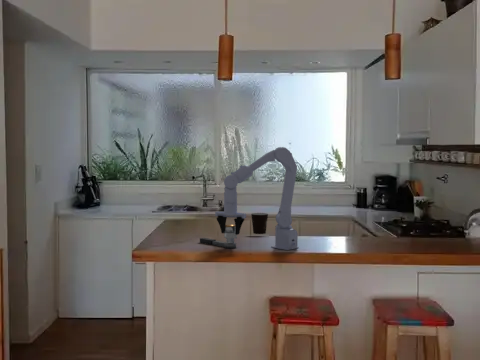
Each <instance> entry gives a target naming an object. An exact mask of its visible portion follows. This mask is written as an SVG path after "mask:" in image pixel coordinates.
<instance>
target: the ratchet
mask: <svg viewBox="0 0 480 360" xmlns="http://www.w3.org/2000/svg"><path fill="white" fill-rule="evenodd" d="M199 243H200V244H204V243H206V245H210V246H211V245H212V246H217V247H221V246H222V247H223V248H224V249H229V250H232V249H237V243H236V242H235V238H234V239H226V241H220V240H217V239H213V238H209V237H199Z"/></svg>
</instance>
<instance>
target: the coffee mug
mask: <svg viewBox="0 0 480 360" xmlns="http://www.w3.org/2000/svg"><path fill="white" fill-rule="evenodd" d="M250 216H251V224H252V225H251V226H252V231H253V232H252V233H253V234H255V235H265V234H266V233H267V228H268V227H267V226H268V218H269V217H268V216H269V213H267V212H266V213H265V212H252V213H251V215H250Z"/></svg>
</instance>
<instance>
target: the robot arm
mask: <svg viewBox="0 0 480 360" xmlns="http://www.w3.org/2000/svg"><path fill="white" fill-rule="evenodd" d="M276 161H277V162H278V163H280V164H281V165H282V166H283V168H284V169H285V173H284V180H283V186H282V193H281V199H280V206H279V209H278V212H277V214H276V215H275V221H276V223H277V224H276V225H275V233H274V234H275V236H274V238H275V239H274V243H275V245H271V246H270V247H271V248H274V249H279V250H285V251H288V250H289V251H290V250H295V249H298V248H299V247H300V246H298V237H299V236H298V231H297V229H294V228H293V226H292V223H293V218H292V204H293V203H292V202H293V198H294V190H295V183H296V179H297V173H298V172H297V170H298V165H297V163H296V161H295V159H294V157H293V154H292V152H291V151H290V150H289V149H288V148H286V147H284V146H279V147H277V148H275V149H273V150H270V151H268V152H267V153H265V154H264V155H262V156H261V157H258V159H256V160H255V161H253V162H252V163H250V164H249V165H247V164H244V165H240V166H239V168H237V169H236V170H235V171H231V172H230V175H226V176H225V178H224V180H223V185H224V188H223V189H224V192H223V211H215V213H214V215H215V216H214V217H216V221H217V222H218V225H219V227H220V232H221V233H220V234H224V232H225V225H227V219H228V218H233V220H234V225H235V233H236V235H237V236H238V235H240V232H241V229H242V225H243V223H244V222H245V219H246V218H247V213H245V212H244V213H242V212H238V192H237V186H238V184H242V183H243V182H245V181H246V180H247V179H249V178H251V177H252V176H253V175H254V174H253V172H254V171H256V170H258V169H259V168H260V167H263V166H264V165H266V164H267V163H268V162H271V163H272V162H276Z"/></svg>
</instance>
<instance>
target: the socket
mask: <svg viewBox="0 0 480 360" xmlns="http://www.w3.org/2000/svg"><path fill="white" fill-rule="evenodd" d="M223 234H224V235H223V236H224V237H223V238H225V240H227V239H234V240H235V239H237V238H238V235H236V233H235V224H226V225H225V232H224V233H223Z"/></svg>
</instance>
